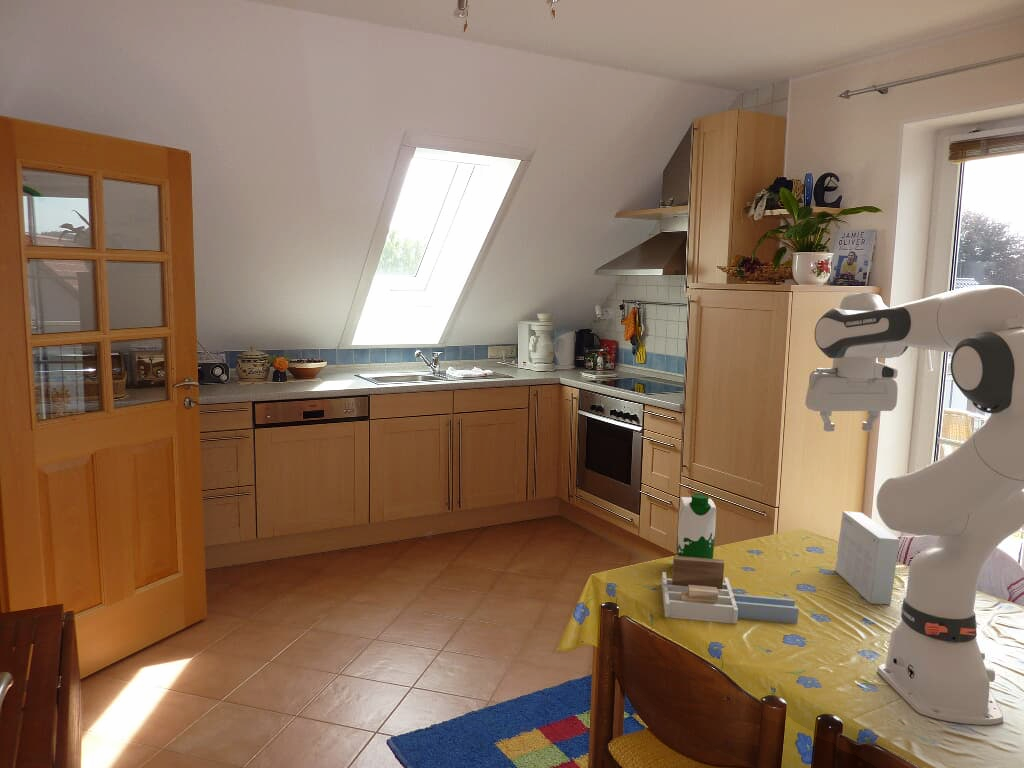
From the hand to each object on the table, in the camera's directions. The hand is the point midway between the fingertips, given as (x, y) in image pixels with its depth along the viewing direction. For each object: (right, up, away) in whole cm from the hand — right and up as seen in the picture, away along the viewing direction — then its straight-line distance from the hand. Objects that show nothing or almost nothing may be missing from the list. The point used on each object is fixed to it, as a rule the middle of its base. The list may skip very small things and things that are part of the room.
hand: (848, 430), depth 171 cm
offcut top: (-32, -36, -2) cm, 48 cm away
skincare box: (+11, -39, +18) cm, 45 cm away
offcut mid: (-33, -38, -2) cm, 50 cm away
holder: (-19, -41, -1) cm, 45 cm away
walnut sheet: (-32, -38, +6) cm, 50 cm away
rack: (-32, -40, +4) cm, 51 cm away
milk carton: (-28, -37, +25) cm, 53 cm away
